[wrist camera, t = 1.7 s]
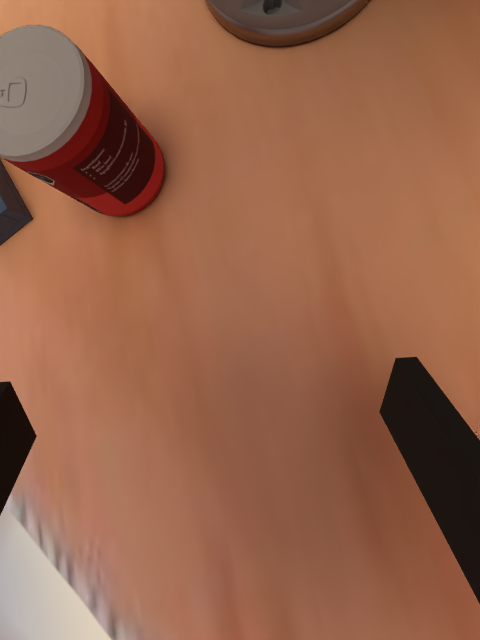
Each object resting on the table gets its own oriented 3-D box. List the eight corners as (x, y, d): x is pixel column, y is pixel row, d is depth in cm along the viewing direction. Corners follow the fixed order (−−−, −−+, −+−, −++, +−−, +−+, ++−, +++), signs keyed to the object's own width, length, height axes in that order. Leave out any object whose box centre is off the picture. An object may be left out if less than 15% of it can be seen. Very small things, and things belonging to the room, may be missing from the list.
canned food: (76, 147, 32) (-46, 52, 21) (158, 118, 31) (72, -1, 20) (90, 230, 32) (-29, 174, 21) (175, 204, 30) (95, 130, 19)
